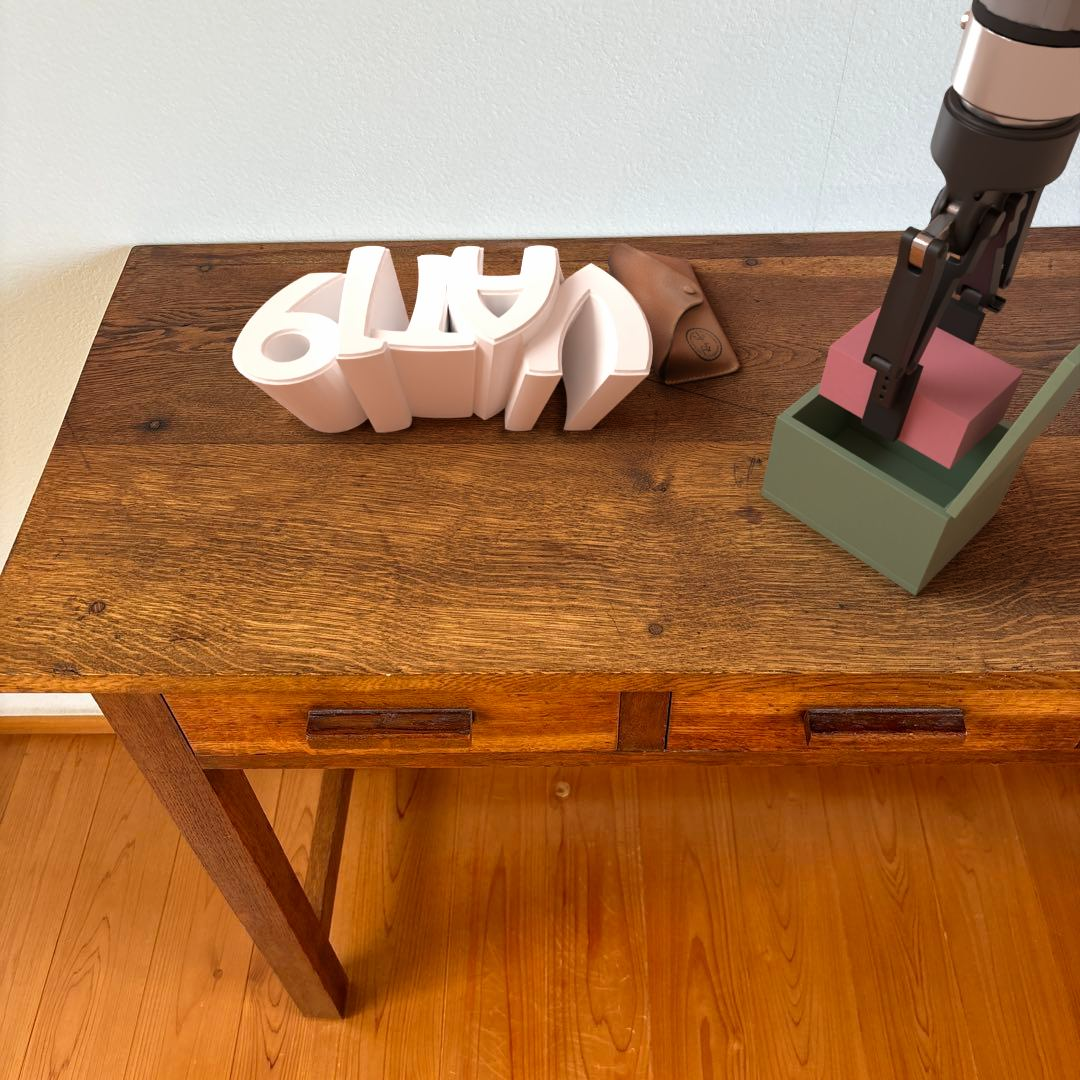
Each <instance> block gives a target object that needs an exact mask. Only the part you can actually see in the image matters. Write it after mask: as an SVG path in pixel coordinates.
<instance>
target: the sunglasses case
mask: <svg viewBox="0 0 1080 1080" xmlns="http://www.w3.org/2000/svg"><path fill="white" fill-rule="evenodd" d="M607 266H608V269H609V271H610V275H611V276H612V277H613V278H615V279H616V280H617V281H618V282H619V283H620V284H622V285H623V286H624V287H625V288H626V289H627V290H628V292H629V293H630V294H631V295H632V296H633V297H634V299H635V300H636V301H637V303H638V304H639V306H640V307H641V309H642V311H643V313H644V314H645V317H646V319H647V322H648V324H649V328H650V332H651V337H652V347H653V354H652V363H651V366H652V368H653V371H654V373H655V374H656V376H657V378H658V379H659V380H660V381H661V382H662V383H663V384H664V385H667V386H674V385H680V384H691V383H695V382H701V381H705V380H706V381H707V380H711V379H714V378H718V377H721V376H726V375H730V374H733V373H735V372H737V371H738V370H739V369H740V362H739V360H738V357H737V355H736V353H735V351H734V349H733V347H732V346H731V343H730V341H729V339H728V338H727V336H726V334H725V332H724V330H723V328H722V326H721V325H720V323H719V321H718V319H717V318H716V315H715V313H714V311H713V309H712V307H711V305H710V304H709V301H708V299H707V297H706V295H705V293H704V291H703V289H702V287H701V285H700V283H699V281H698V278H697V276H696V274H695V272H694V270H693V267H692V265H691V263H690V261H689V260H688V258H684V257H682V258H678V257H674V256H668V255H665V254H659V253H654V252H650V251H645V250H640V249H637V248H635V247H633V246H631V245H629V244H628V243H625V242H624V243H623V242H622V243H618V244H617V245H616V246H614V247H613V248H612V249H611V251H610V252H609V253H608V257H607Z"/></svg>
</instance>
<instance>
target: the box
mask: <svg viewBox="0 0 1080 1080" xmlns="http://www.w3.org/2000/svg"><path fill="white" fill-rule="evenodd" d="M820 384H821V381H820V382H818V383H817V384H816V385H814V387H811V389H810V390H808V391H807V392H806V393H805V394H804V395H802V396H801V397H800V398H798V399H797V400H796V401H795V402H794V403H792V404H791V405H790V406H789V407H787V408H786V409H785V410H783V412H781V413H780V414H779V415H777V416H776V420H775V425H774V429H773V435H772V439H771V444H770V449H769V453H768V460H767V464H766V468H765V473H764V477H763V483H762V486H761V492H760V496H762V497H763V498H765V499H766V500H768V501H769V502H770V503H772V504H774V505H775V506H776V507H778V508H780V509H782V510H783V511H784V512H786V513H788V514H789V515H791V516H792V517H794V518H795V519H796V520H798V521H800V522H801V523H803V524H805V526H807V527H809V528H810V529H812V530H813V531H814V532H817V533H818V534H819V535H821V536H823V537H824V538H826V539H827V540H829V541H831V542H832V543H834V544H835V545H836V546H837V547H840V548H841V549H842V550H843V551H845V552H847V553H849V554H850V555H851V556H853V557H855V558H857V559H858V560H859V561H861V562H863V563H864V564H865V565H867V566H868V567H870V568H872V569H873V570H874V571H876V572H877V573H880V574H881V575H882V576H884V577H885V578H887V579H888V580H890V581H891V582H893V583H895V584H896V585H898V587H901V588H902V589H903V590H905V591H907V592H909V593H910V594H911V595H913V596H917V595H918V594H919V593H920V592H921V591H922V590H923V589H924V588H925V587H926V586H927V585H928V584H929V583H930V582H931V581H932V580H933V579H934V578H935V577H936V575H938V573H939V572H940V571H942V570H943V569H944V568H945V566H946V565H947V564H948V563H950V561H951V560H952V559H954V557H955V556H957V554H958V553H959V552H960V551H961V550H962V549H964V547H965V546H966V545H968V543H969V542H970V541H971V540H972V539H973V538H974V537H975V536H976V535H977V534H978V533H979V532H980V531H981V529H983V528H984V526H986V525H987V524H988V523H989V521H991V519H993V517H994V516H996V515H997V513H998V511H999V509H1000V507H1001V505H1002V503H1003V501H1004V500H1005V499H1004V498H1005V496H1006V494H1007V493H1008V491H1009V488H1010V486H1011V485H1012V482H1013V480H1014V479H1015V476H1016V474H1017V472H1018V470H1019V467H1020V466H1021V464H1022V461H1023V460H1024V457H1025V455H1026V453H1027V451H1028V449H1029V447H1030V445H1029V446H1028V447H1027V448H1026V449H1025V450H1024V451H1023V452H1022V453H1021V454H1020V455H1019V456H1018V457H1017V458H1016V459H1015V460H1014V461H1013V462H1012V463H1011V464H1010V465H1009V466H1008V467H1007V468H1006V469H1005V470H1004V471H1003V472H1002V473H1001V474H1000V475H999V476H998V477H997V478H996V479H995V480H994V481H993V482H992V483H991V484H990V485H989V486H988V487H987V488H986V489H985V490H984V491H983V492H982V493H981V494H980V495H979V496H978V497H977V498H976V499H975V500H974V501H973V502H972V503H971V504H970V505H969V506H968V507H967V508H966V509H965V510H964V511H963V512H962V513H961V514H960V515H959V516H958V517H957V518H953V517H952V516H951V515H949V514H948V513H947V512H946V511H947V509H948V508H949V507H950V506H951V504H952V503H953V502H954V500H955V499H956V498H957V497H958V495H959V494H960V493H961V491H962V490H963V489H964V487H965V486H966V485H967V484H968V482H969V481H970V480H971V478H972V477H973V476H974V475H975V473H976V472H977V471H978V469H979V468H980V467H981V465H982V464H983V463H984V462H985V460H986V459H987V458H988V456H989V455H990V454H991V453H992V451H993V450H994V449H995V447H996V446H997V445H998V443H999V442H1000V441H1001V440H1002V438H1003V437H1004V436H1005V434H1006V433H1007V432H1008V431H1009V429H1010V428H1011V427H1012V425H1013V424H1014V423H1013V422H1012V421H1009V420H1008V419H1006V418H1004V417H1003V419H1002V420H1001V421H1000V422H999V423H998V424H997V425H996V426H995V427H994V428H993V429H992V430H991V431H990V432H989V433H988V434H986V435H985V436H984V437H983V438H982V439H981V440H980V441H979V442H978V443H977V444H976V445H975V446H974V447H973V448H972V449H971V450H970V451H968V452H967V453H966V454H965V455H964V456H963V457H962V458H961V459H960V460H959V461H958V462H957V463H956V464H955V465H954V466H953V467H952V468H951V469H948V468H946V467H945V466H943V465H941V464H939V463H938V462H936V461H934V460H933V459H931V458H929V457H927V456H926V455H924V454H922V453H921V452H919V451H917V450H915V449H914V448H912V447H910V446H908V445H907V444H905V443H903V442H902V441H900V440H898V439H897V440H896V441H895V442H891V441H889V440H888V439H886V438H884V437H882V436H881V435H879V434H877V433H875V432H874V431H872V430H870V429H869V428H867V427H865V426H863V425H862V424H861V421H862V418H860V417H858V416H857V415H855V414H853V413H852V412H850V411H848V410H846V409H845V408H843V407H841V406H839V405H838V404H836V403H834V402H833V401H831V400H829V399H827V398H826V397H824V396H822V395H820V394H819V393H818V392H819V388H820Z"/></svg>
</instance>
